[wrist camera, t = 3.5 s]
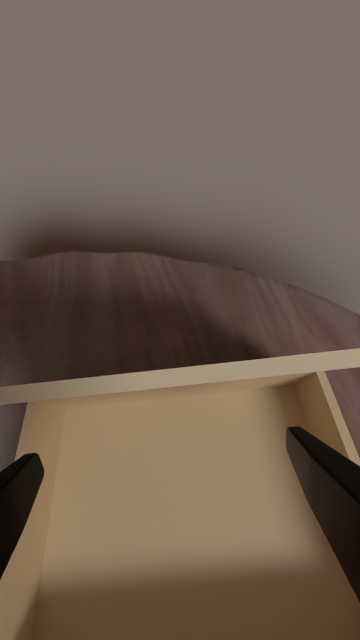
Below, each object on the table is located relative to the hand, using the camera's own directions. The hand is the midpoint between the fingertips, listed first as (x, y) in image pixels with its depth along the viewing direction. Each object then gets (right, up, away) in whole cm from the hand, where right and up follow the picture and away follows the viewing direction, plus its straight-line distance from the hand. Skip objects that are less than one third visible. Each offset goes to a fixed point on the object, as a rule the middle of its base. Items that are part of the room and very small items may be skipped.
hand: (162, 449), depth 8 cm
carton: (+1, -9, +9) cm, 13 cm away
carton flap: (0, +2, +3) cm, 3 cm away
